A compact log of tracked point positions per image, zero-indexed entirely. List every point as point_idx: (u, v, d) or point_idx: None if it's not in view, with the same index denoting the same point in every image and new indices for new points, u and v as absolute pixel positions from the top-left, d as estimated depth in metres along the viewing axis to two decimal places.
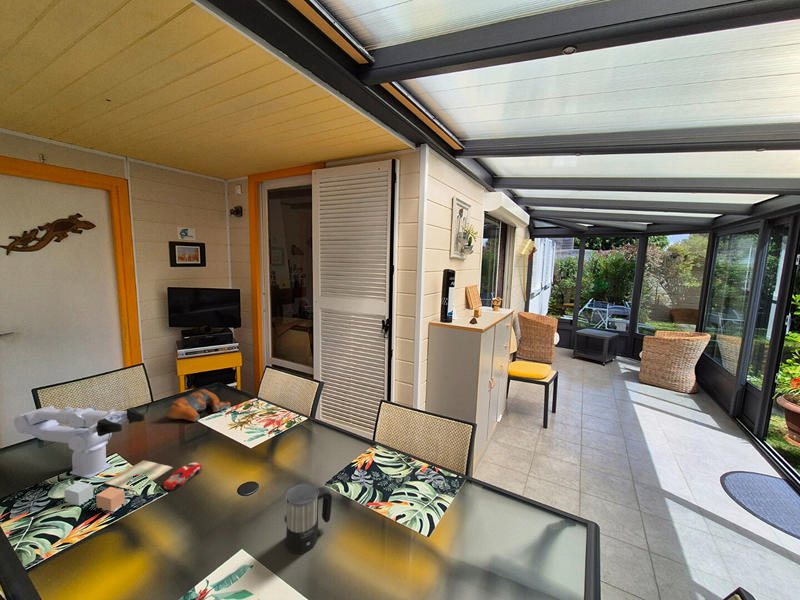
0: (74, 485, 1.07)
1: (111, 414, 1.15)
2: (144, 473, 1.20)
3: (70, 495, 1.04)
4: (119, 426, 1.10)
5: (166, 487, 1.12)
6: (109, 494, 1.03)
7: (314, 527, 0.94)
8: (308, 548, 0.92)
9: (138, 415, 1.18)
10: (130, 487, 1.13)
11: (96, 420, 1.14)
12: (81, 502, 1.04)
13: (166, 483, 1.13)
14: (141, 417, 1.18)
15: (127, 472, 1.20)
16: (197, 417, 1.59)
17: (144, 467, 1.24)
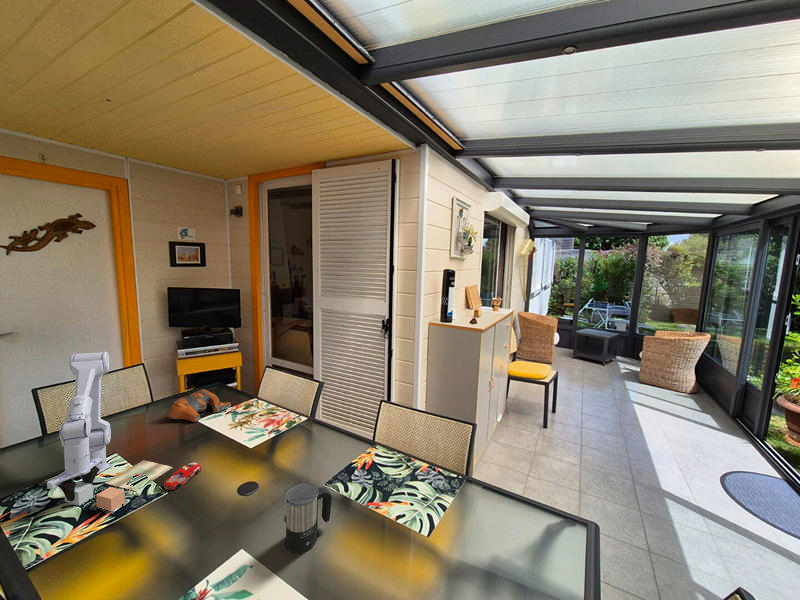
0: None
1: None
2: (144, 473, 1.20)
3: None
4: None
5: (167, 487, 1.12)
6: (109, 494, 1.03)
7: (314, 527, 0.94)
8: (308, 548, 0.93)
9: None
10: (130, 487, 1.13)
11: (69, 464, 1.02)
12: (81, 502, 1.04)
13: (167, 483, 1.13)
14: None
15: (127, 472, 1.20)
16: (197, 417, 1.59)
17: (144, 467, 1.24)
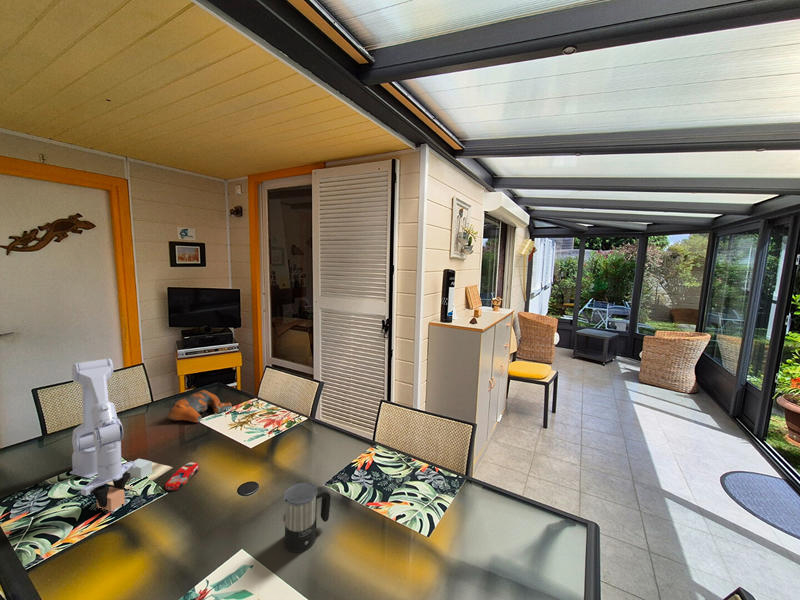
0: (136, 461, 1.20)
1: None
2: None
3: (133, 470, 1.17)
4: None
5: (170, 488, 1.12)
6: (109, 494, 1.03)
7: (312, 526, 0.94)
8: (306, 547, 0.93)
9: None
10: (130, 487, 1.13)
11: (102, 470, 1.00)
12: (143, 476, 1.18)
13: (169, 484, 1.13)
14: None
15: (127, 472, 1.20)
16: (199, 418, 1.58)
17: None
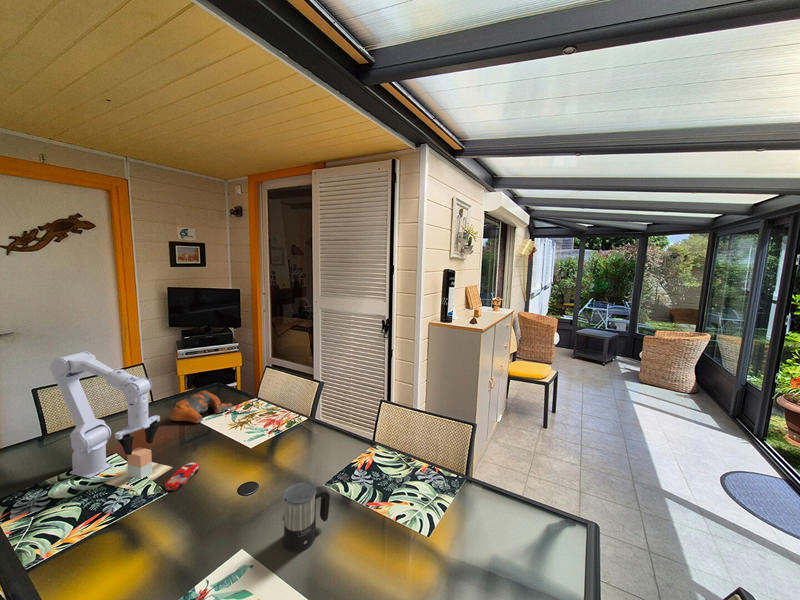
0: None
1: None
2: None
3: (133, 470, 1.17)
4: None
5: (169, 488, 1.12)
6: (138, 452, 1.18)
7: (311, 526, 0.94)
8: (305, 547, 0.93)
9: (150, 439, 1.22)
10: (130, 487, 1.13)
11: (133, 419, 1.14)
12: (143, 476, 1.18)
13: (168, 484, 1.13)
14: (149, 442, 1.22)
15: (127, 472, 1.20)
16: (200, 419, 1.58)
17: None
